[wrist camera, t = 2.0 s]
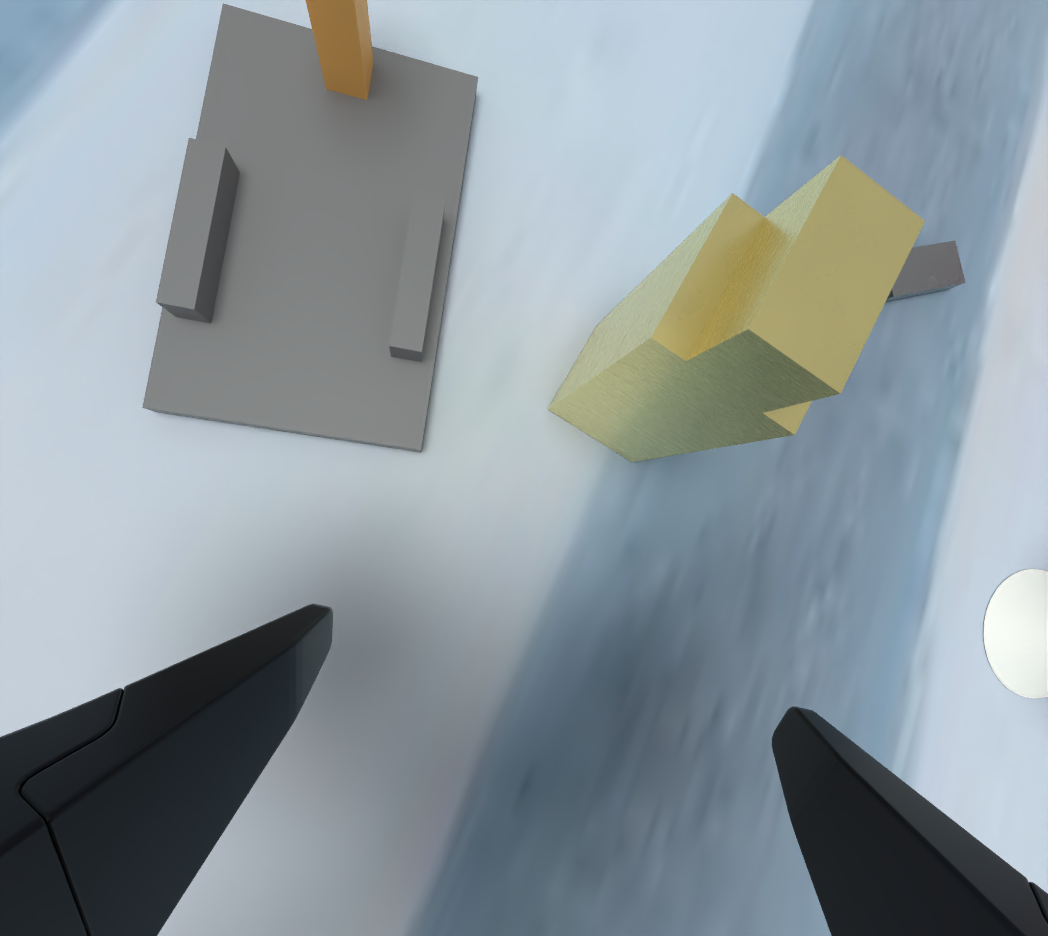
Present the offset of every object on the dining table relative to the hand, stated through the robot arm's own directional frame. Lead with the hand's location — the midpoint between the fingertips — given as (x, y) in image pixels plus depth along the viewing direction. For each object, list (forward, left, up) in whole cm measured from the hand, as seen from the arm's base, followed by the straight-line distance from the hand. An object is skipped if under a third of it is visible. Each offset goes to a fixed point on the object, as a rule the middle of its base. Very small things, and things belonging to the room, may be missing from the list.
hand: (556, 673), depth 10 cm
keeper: (+15, 0, -12) cm, 19 cm away
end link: (+5, -9, -12) cm, 16 cm away
